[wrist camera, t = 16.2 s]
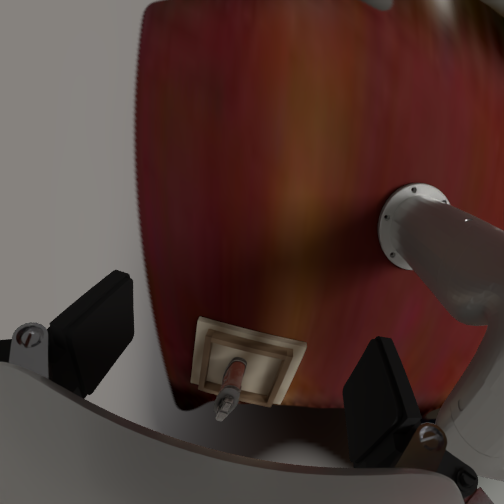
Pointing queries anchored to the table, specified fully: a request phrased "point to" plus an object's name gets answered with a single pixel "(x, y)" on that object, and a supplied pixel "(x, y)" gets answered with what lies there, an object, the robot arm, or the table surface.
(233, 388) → the lighter
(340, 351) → the table surface
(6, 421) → the robot arm
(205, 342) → the square beige tray
